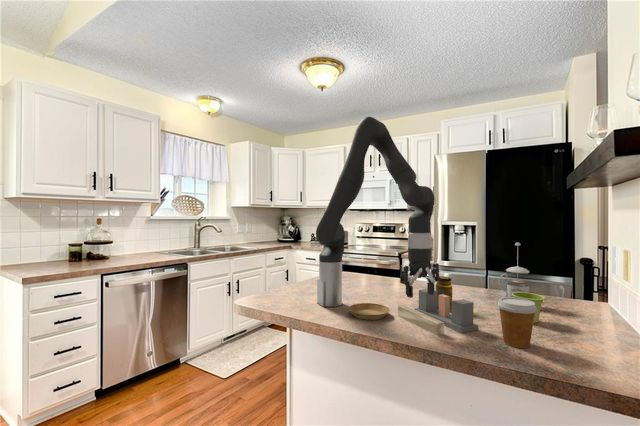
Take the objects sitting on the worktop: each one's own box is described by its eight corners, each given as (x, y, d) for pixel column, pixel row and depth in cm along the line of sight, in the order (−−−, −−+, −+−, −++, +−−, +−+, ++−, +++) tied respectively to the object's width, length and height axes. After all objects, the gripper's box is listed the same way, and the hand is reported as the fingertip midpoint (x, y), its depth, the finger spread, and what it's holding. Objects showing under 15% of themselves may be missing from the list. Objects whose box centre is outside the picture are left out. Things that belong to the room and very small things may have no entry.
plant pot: (539, 318, 114) (539, 293, 114) (548, 327, 105) (548, 300, 105) (509, 315, 117) (509, 291, 117) (515, 323, 108) (515, 297, 108)
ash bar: (437, 337, 97) (437, 323, 97) (398, 316, 116) (398, 305, 116) (444, 335, 98) (444, 322, 98) (403, 316, 117) (403, 304, 117)
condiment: (457, 309, 124) (457, 278, 124) (443, 313, 120) (443, 280, 120) (440, 304, 130) (440, 274, 130) (426, 308, 126) (427, 277, 126)
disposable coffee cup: (490, 337, 96) (490, 297, 96) (520, 336, 97) (520, 296, 97) (511, 351, 86) (512, 306, 86) (545, 350, 87) (545, 305, 87)
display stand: (461, 333, 100) (461, 305, 100) (414, 312, 120) (414, 289, 120) (478, 329, 102) (478, 302, 102) (429, 310, 123) (429, 287, 123)
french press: (535, 309, 124) (535, 244, 124) (501, 306, 128) (501, 243, 128) (528, 302, 133) (528, 241, 133) (496, 300, 137) (496, 240, 137)
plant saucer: (341, 312, 121) (341, 305, 121) (375, 307, 127) (375, 301, 127) (361, 324, 107) (361, 317, 107) (398, 319, 113) (398, 311, 113)
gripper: (428, 244, 113) (429, 291, 113) (394, 246, 108) (395, 295, 108) (444, 246, 106) (445, 296, 106) (409, 248, 101) (410, 301, 101)
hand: (420, 295), depth 107 cm, fingers open, 8 cm apart
